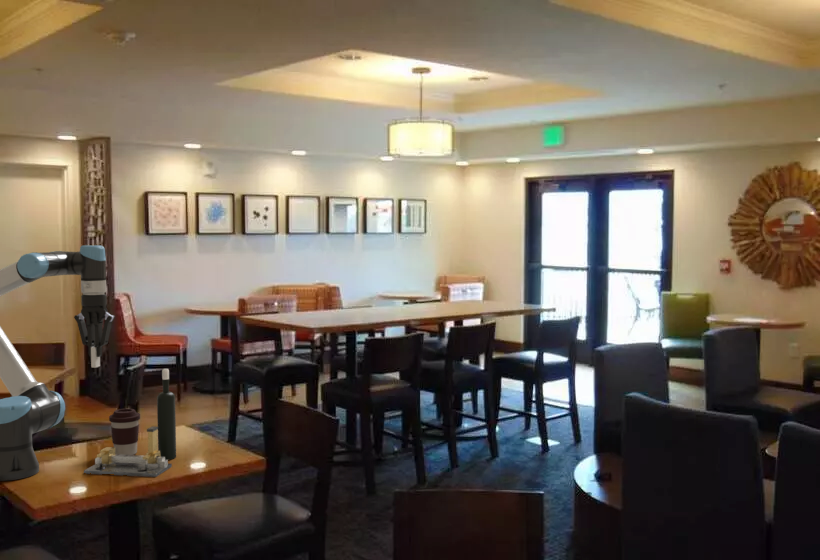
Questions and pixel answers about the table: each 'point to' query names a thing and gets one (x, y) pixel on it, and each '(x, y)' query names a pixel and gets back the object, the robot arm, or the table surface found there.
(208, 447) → the table surface
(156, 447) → the sliding leg
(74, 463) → the table surface
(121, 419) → the coffee cup
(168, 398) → the wine bottle
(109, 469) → the trammel plate
